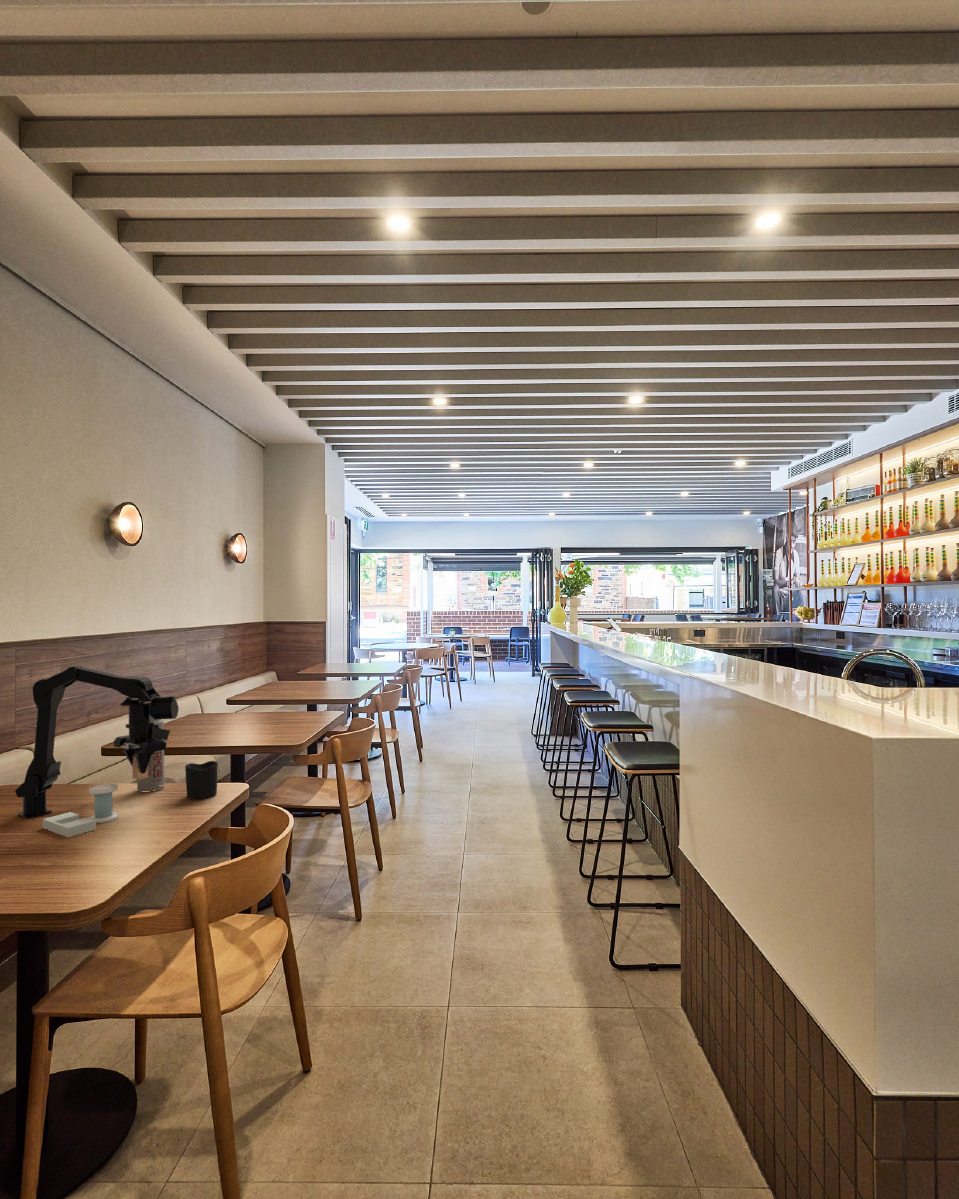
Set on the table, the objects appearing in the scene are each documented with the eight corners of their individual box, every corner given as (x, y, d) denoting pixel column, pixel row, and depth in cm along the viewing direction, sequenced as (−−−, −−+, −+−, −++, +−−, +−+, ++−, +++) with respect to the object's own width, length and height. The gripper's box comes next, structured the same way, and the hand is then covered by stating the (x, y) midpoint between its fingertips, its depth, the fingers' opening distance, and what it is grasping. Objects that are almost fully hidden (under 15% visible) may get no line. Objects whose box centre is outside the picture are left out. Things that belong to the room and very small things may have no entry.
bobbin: (84, 820, 179) (84, 788, 179) (110, 813, 185) (109, 782, 185) (97, 825, 175) (96, 792, 175) (122, 817, 181) (122, 786, 181)
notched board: (42, 828, 173) (42, 819, 173) (70, 820, 179) (70, 812, 179) (67, 837, 166) (67, 828, 166) (95, 829, 172) (95, 820, 172)
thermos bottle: (167, 789, 210) (166, 704, 210) (140, 794, 204) (139, 707, 205) (160, 784, 216) (159, 702, 216) (134, 789, 210) (133, 704, 211)
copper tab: (132, 778, 189) (132, 754, 189) (142, 775, 191) (142, 752, 191) (138, 779, 187) (137, 755, 187) (148, 777, 189) (147, 753, 190)
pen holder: (205, 801, 196) (204, 768, 196) (178, 799, 198) (178, 767, 198) (224, 792, 205) (223, 761, 205) (198, 791, 207) (198, 760, 207)
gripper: (183, 718, 191) (183, 770, 191) (148, 713, 201) (149, 763, 201) (146, 724, 182) (147, 779, 181) (112, 719, 192) (113, 771, 192)
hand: (140, 772), depth 189 cm, fingers closed on copper tab, 3 cm apart
